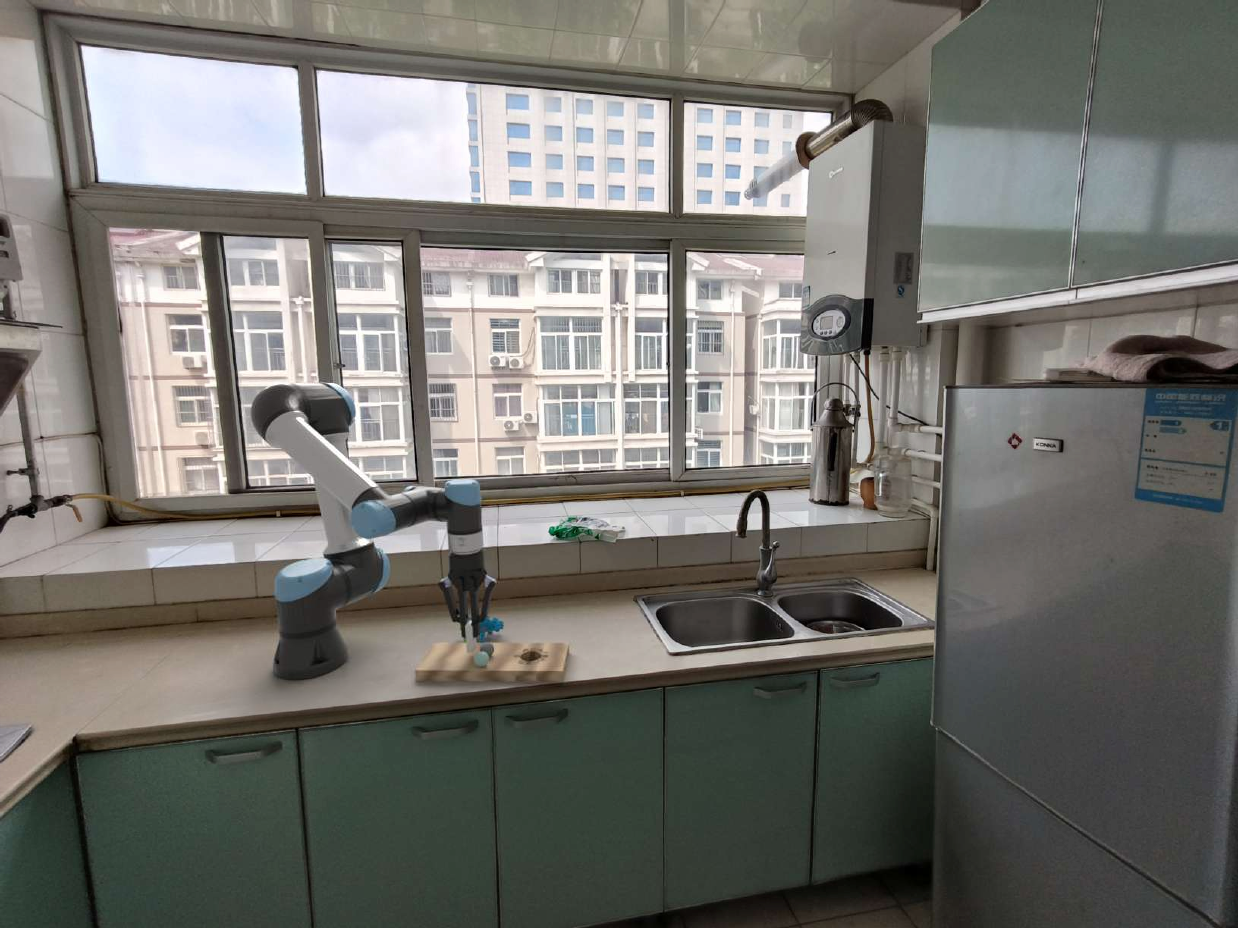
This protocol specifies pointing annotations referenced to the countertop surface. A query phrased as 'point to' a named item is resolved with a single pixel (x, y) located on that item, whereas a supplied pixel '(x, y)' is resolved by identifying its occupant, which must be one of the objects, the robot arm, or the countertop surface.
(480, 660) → the teal ball
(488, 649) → the grey ball
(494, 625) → the gear
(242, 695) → the countertop surface
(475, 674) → the board
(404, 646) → the countertop surface
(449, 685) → the countertop surface
